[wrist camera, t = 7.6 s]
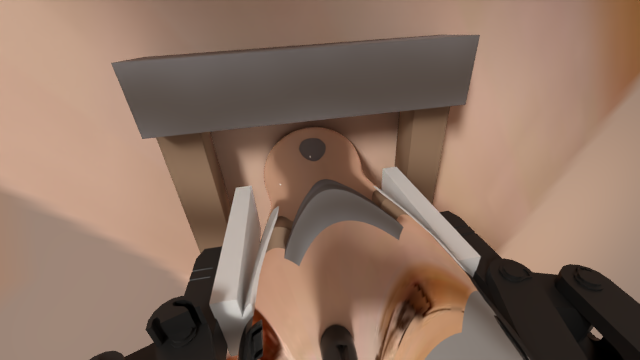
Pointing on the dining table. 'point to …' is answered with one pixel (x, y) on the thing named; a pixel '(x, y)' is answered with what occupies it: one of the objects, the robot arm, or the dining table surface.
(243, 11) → the dining table surface
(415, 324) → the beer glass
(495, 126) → the dining table surface
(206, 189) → the guide track
